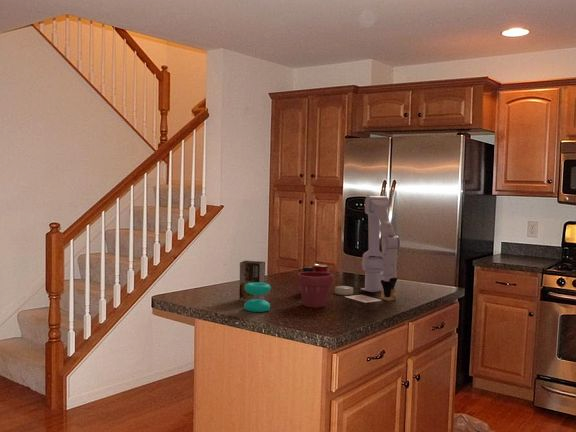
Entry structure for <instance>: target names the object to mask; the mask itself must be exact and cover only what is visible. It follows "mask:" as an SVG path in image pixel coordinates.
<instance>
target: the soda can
mask: <svg viewBox="0 0 576 432" xmlns="http://www.w3.org/2000/svg"><path fill="white" fill-rule="evenodd" d="M311 267H314V272H326V273H329V265H327V264H321V263H315V264H313V265H312V266H311Z"/></svg>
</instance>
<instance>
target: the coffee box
mask: <svg viewBox="0 0 576 432" xmlns="http://www.w3.org/2000/svg"><path fill="white" fill-rule="evenodd" d="M265 277H266V261H259V260H258V261H257V260H242V261H241V262H239V297H238V299H239V300H240V301H239V300H238V301H239V302H247V301H249V300H254V299H260V300H265V294H262V295H254V294H250V293H247V292H246V291H245V285H246V284H248V283H255V282H259V283H266V282H265V281H266V278H265Z"/></svg>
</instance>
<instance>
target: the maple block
mask: <svg viewBox="0 0 576 432" xmlns="http://www.w3.org/2000/svg"><path fill="white" fill-rule="evenodd" d="M380 293H381V295H380V300H385V301H389V302H390V301H396V300H397V289H395V288H394V289H391V295H390V297H385V296H384V290H383V289H381V291H380Z"/></svg>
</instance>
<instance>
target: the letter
mask: <svg viewBox="0 0 576 432" xmlns="http://www.w3.org/2000/svg"><path fill="white" fill-rule="evenodd" d="M344 298H348V299H351V300H355V301H357V302H358V301H359V302H361V303H366V304H367V303H373V302H380V301H381V302H383V300H384V299H381V298H380V299H378V298H376V297H372V296H368V295H364V294H357V295H354V294H353V295H344Z"/></svg>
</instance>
